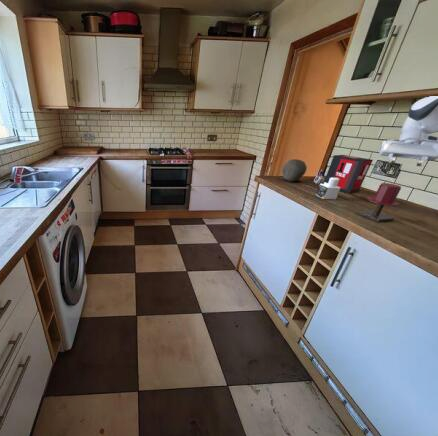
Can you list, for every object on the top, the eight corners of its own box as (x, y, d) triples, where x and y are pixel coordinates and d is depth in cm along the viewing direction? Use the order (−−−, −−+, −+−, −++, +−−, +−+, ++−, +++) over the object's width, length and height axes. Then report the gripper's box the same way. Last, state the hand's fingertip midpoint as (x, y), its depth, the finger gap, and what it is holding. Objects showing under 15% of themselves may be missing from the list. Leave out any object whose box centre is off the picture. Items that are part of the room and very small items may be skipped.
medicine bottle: (315, 195, 135) (322, 175, 130) (327, 195, 135) (335, 175, 129) (323, 199, 128) (331, 178, 123) (335, 199, 128) (344, 179, 123)
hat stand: (393, 220, 104) (410, 189, 98) (378, 222, 103) (394, 190, 96) (371, 212, 112) (386, 183, 106) (357, 213, 111) (371, 183, 104)
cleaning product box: (358, 191, 143) (372, 159, 134) (349, 193, 140) (364, 160, 131) (330, 184, 157) (342, 154, 148) (322, 185, 153) (333, 155, 145)
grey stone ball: (301, 185, 153) (309, 162, 146) (278, 181, 160) (284, 159, 153) (302, 180, 164) (309, 159, 157) (280, 177, 170) (286, 156, 164)
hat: (404, 205, 101) (414, 188, 97) (386, 206, 99) (396, 189, 95) (378, 197, 110) (386, 181, 106) (361, 198, 108) (369, 182, 104)
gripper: (385, 134, 115) (379, 156, 112) (446, 138, 104) (440, 163, 101) (380, 143, 120) (373, 164, 117) (437, 147, 109) (432, 171, 106)
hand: (405, 163), depth 109 cm, fingers open, 8 cm apart
